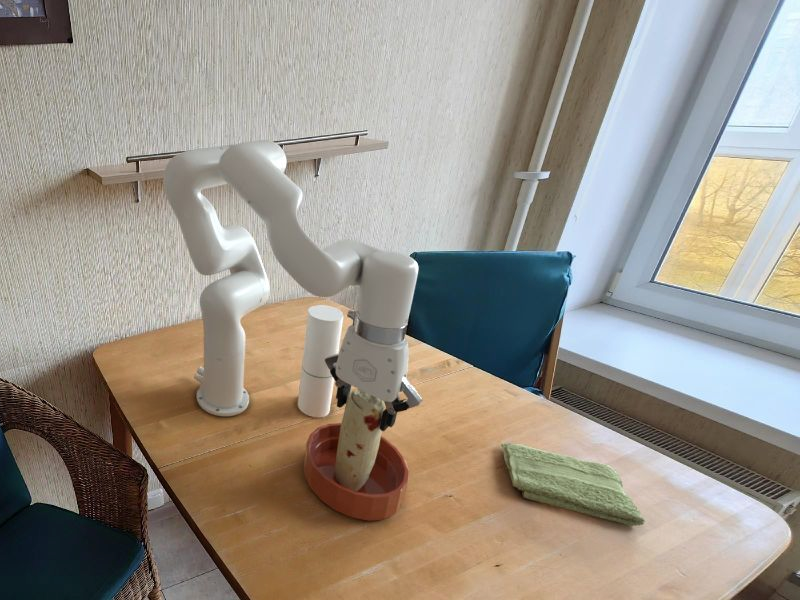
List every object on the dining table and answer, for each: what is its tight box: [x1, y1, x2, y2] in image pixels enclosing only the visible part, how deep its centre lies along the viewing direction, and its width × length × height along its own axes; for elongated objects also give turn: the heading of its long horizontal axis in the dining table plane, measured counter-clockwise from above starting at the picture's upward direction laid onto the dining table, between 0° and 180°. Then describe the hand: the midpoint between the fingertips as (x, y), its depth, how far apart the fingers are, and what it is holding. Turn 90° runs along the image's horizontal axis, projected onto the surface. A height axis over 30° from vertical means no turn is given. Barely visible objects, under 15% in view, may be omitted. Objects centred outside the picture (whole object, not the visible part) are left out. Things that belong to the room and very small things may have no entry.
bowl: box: [303, 422, 410, 521], centre depth 80 cm, size 17×17×6 cm
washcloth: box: [501, 442, 646, 527], centre depth 78 cm, size 13×18×3 cm
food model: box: [335, 388, 386, 492], centre depth 77 cm, size 10×7×20 cm
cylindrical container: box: [297, 304, 345, 418], centre depth 96 cm, size 7×7×25 cm
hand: (363, 414), depth 75 cm, fingers open, 7 cm apart
